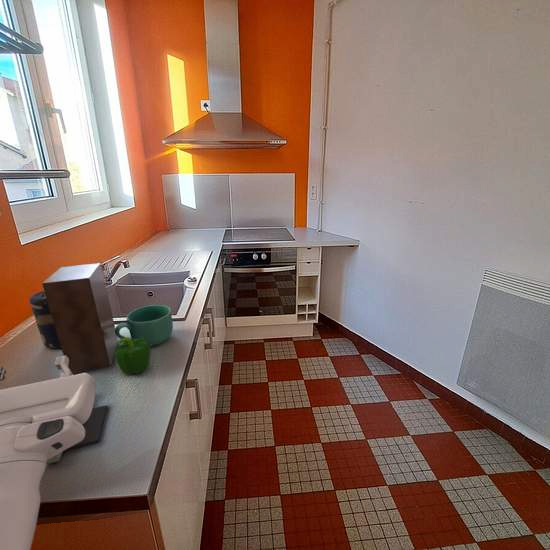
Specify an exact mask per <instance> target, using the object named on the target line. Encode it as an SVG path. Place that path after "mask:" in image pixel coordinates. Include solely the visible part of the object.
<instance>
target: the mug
mask: <svg viewBox="0 0 550 550" xmlns="http://www.w3.org/2000/svg"><path fill="white" fill-rule="evenodd" d="M173 324H174V323H173V316H172V310H171V308H170V307H169V306H168V305H164V304H163V305H162V304H151V305H145V306H142V307H138V308H135V309H134V310H132V311H130V312H129V313H128V314H127V315H126V322H120V323H119V324H117V325H116V326H115V334H116V336H117V338H118V339H119V340H120V339H122V338H128V339H137V338H140V337H142V338H143V339H144V340H145V341H146V342H147V343H148V344H149V346H150V347H151V346H157V345H159V344H161V343H163V342H165V341H166V340H167V339H169V338H170V337H171V335H172V333H173V330H174V325H173ZM123 328H126V329H127V330H128V331H129V335H130V337H128V336H124V335H122V334H121V333H120V331H121V330H122V329H123Z"/></svg>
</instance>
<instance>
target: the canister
mask: <svg viewBox="0 0 550 550" xmlns="http://www.w3.org/2000/svg"><path fill="white" fill-rule="evenodd" d="M29 304H30V307H31V310H32V313H33V315H34V319H35V322H36V326H37V329H38V332H39V334H40V337H41V341H42V344H43V346H44V347H46V348H49V349H57V348H61V345H60V342H59V338H58V335H57V332H56V328H55V325H54V322H53V318H52V315H51V312H50V308H49V305H48V302H47V298H46V295H45V292H44V290H41V291H38V292H36V293H34V294H32V295H31V296H30V297H29Z"/></svg>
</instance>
